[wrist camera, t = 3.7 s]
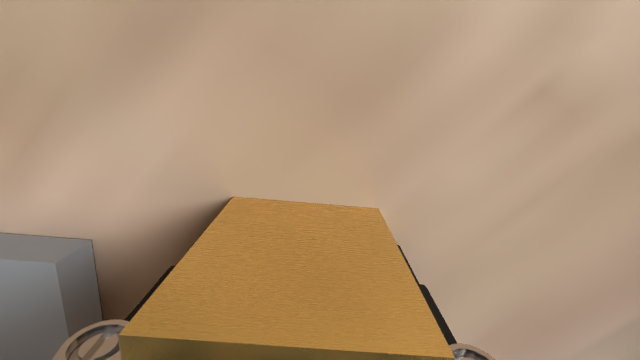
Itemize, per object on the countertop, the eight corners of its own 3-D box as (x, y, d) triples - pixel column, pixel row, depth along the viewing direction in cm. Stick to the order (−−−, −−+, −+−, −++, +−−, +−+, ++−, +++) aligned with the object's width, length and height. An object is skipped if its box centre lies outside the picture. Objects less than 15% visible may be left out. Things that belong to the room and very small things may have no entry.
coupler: (360, 327, 12) (409, 607, 5) (232, 318, 11) (126, 594, 5) (378, 208, 10) (475, 396, 4) (233, 196, 10) (88, 371, 4)
